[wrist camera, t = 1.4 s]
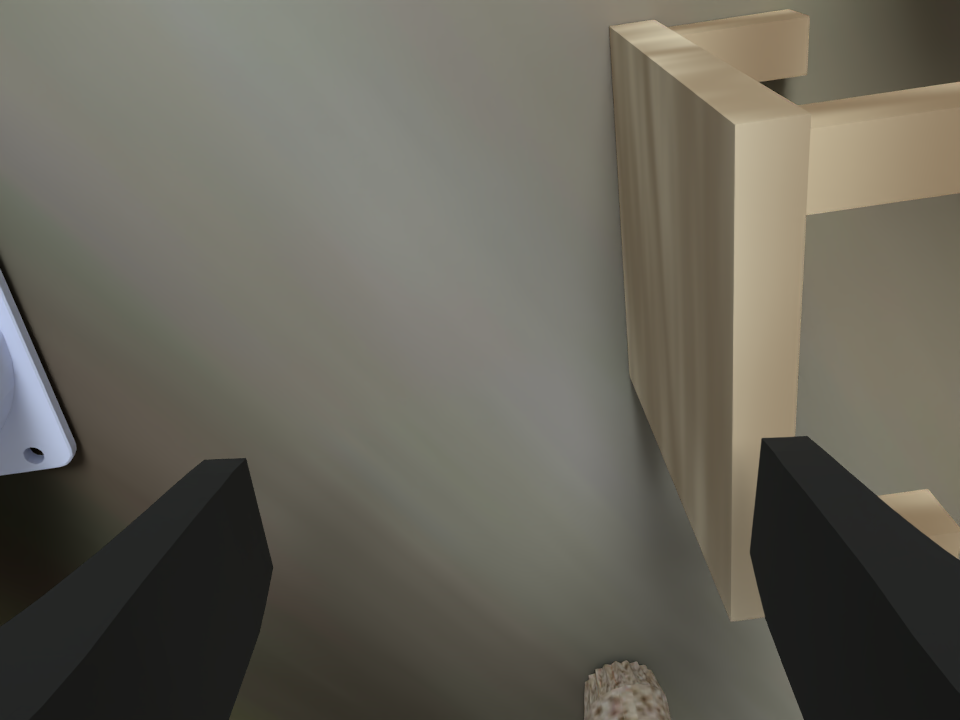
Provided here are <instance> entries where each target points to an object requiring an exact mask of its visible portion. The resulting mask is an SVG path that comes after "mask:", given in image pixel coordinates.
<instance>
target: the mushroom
mask: <svg viewBox="0 0 960 720" xmlns="http://www.w3.org/2000/svg"><path fill="white" fill-rule="evenodd" d="M584 720H671V717H670V711H669V705H668V703H667V698H666V695H665V694H664V692H663V690H662V688H661V687H660V685H659V683H658V681H657V680H656V678H655V676H654V674H653V673H652V671H651V670H648V669H647V667H646V665H639V664H638V663H637V661H636V662H633V663H629V662H628V661H627V660H625V661H624V662H622V663H619V662H617V661H615V662H614V663H612V664H611V665H608V664H604V666H603V668H601V669H595V674H591V675H589V680H588V681H586V682H585V689H584Z"/></svg>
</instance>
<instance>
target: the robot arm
mask: <svg viewBox="0 0 960 720" xmlns="http://www.w3.org/2000/svg"><path fill="white" fill-rule="evenodd" d="M30 447H32V448H37V449H39V450H41V451H42V453H43V454H44V455H37V454H35V453H33V452H32V450H31V449H30ZM76 450H77V448H76V443H75V440H74V438H73V436H72V433H71V431H70V429H69V427H68V424H67V422H66V420H65V417H64V415H63V413H62V410H61V408H60V406H59V403H58V401H57V399H56V396H55V394H54V392H53V390H52V387H51V385H50V383H49V380H48V378H47V376H46V373H45V371H44V369H43V366H42V364H41V362H40V359H39V357H38V355H37V353H36V350H35V348H34V346H33V343H32V341H31V339H30V336H29V334H28V332H27V329H26V327H25V325H24V322H23V320H22V318H21V315H20V313H19V311H18V309H17V306H16V304H15V302H14V299H13V297H12V295H11V292H10V290H9V288H8V285H7V283H6V281H5V278H4V276H3V274H2V272H1V269H0V476H1V475H8V474H16V473H23V472H30V471H37V470H44V469H51V468H58V467H62V466H65V465H67V464H68V463H69V462H70V461H71V460H72V458H73V457H74V455H75V453H76ZM750 557H751V561H752V565H753V570H754V574H755V578H756V583H757V587H758V591H759V595H760V599H761V603H762V607H763V611H764V615H765V619H766V621H767V624H768V627H769V629H770V632H771V635H772V637H773V640H774V643H775V645H776V648H777V651H778V653H779V656H780V659H781V661H782V664H783V667H784V669H785V672H786V674H787V677H788V680H789V682H790V685H791V687H792V690H793V692H794V695H795V698H796V700H797V703H798V705H799V708H800V710H801V713H802V716H803V718H804V720H960V560H959V559H957V558H956V557H954V556H953V555H952V554H950V553H949V552H947V551H946V550H945V549H943V548H942V547H941V546H939V545H938V544H937V543H935V542H934V541H933V540H931V539H930V538H929V537H928V536H926V535H925V534H924V533H922V532H921V531H920V530H918V529H917V528H916V527H915V526H913V525H912V524H911V523H910V522H908V521H907V520H906V519H905V518H903V517H902V516H901V515H900V514H898V513H897V512H896V511H895V510H894V509H892V508H891V507H890V506H889V505H887V504H886V503H885V502H884V501H883V500H881V499H880V498H879V497H878V496H877V495H875V494H874V493H873V492H872V491H871V490H870V489H868V488H867V487H866V486H865V485H864V484H863V483H861V482H860V481H859V480H858V479H857V478H856V477H854V476H853V475H852V474H851V473H850V472H849V471H847V470H846V469H845V468H844V467H843V466H842V465H840V464H839V463H838V462H837V461H836V460H835V459H834V458H832V457H831V456H830V455H829V454H828V453H827V452H825V451H824V450H823V449H822V448H821V447H820V446H818V445H817V444H816V443H815V442H814V441H812V440H811V439H810V438H809V437H808V436H800V437H774V438H762V439H761V448H760V458H759V467H758V477H757V487H756V496H755V506H754V515H753V525H752V534H751V544H750ZM272 570H273V565H272V561H271V557H270V553H269V549H268V545H267V541H266V537H265V533H264V529H263V525H262V521H261V517H260V513H259V509H258V504H257V500H256V496H255V492H254V488H253V484H252V480H251V476H250V472H249V468H248V464H247V460H246V458H239V459H213V460H204V461H202V462H201V463H200V464H199V465H197V466H196V467H195V468H194V469H192V470H191V471H190V472H189V473H188V474H186V475H185V476H184V477H183V478H182V479H181V480H180V481H178V482H177V483H176V484H175V485H174V486H173V487H172V488H170V489H169V490H168V491H167V492H166V493H165V494H164V495H163V496H161V497H160V498H159V499H158V500H157V501H156V502H155V503H154V504H152V505H151V506H150V507H149V508H148V509H147V510H146V511H145V512H143V513H142V514H141V515H140V516H139V517H138V518H137V519H135V520H134V521H133V522H132V523H131V524H130V525H129V526H127V527H126V528H125V529H124V530H123V531H122V532H120V533H119V534H118V535H117V536H116V537H115V538H114V539H112V540H111V541H110V542H109V543H108V544H107V545H106V546H104V547H103V548H102V549H101V550H100V551H98V552H97V553H96V554H95V555H93V556H92V557H91V558H90V559H88V560H87V561H86V562H85V563H83V564H82V565H81V566H80V567H78V568H77V569H76V570H75V571H73V572H72V573H71V574H70V575H68V576H67V577H66V578H65V579H63V580H62V581H61V582H60V583H58V584H57V585H56V586H55V587H53V588H52V589H51V590H50V591H48V592H47V593H46V594H45V595H43V596H42V597H41V598H39V599H38V600H37V601H35V602H34V603H33V604H31V605H30V606H29V607H27V608H26V609H25V610H23V611H22V612H20V613H19V614H18V615H16V616H15V617H13V618H12V619H11V620H9V621H8V622H6V623H5V624H4V625H2V626H1V627H0V720H229V717H230V714H231V712H232V709H233V706H234V703H235V701H236V698H237V695H238V692H239V689H240V687H241V684H242V681H243V678H244V675H245V673H246V670H247V667H248V664H249V661H250V658H251V655H252V653H253V650H254V647H255V644H256V641H257V638H258V635H259V632H260V628H261V623H262V619H263V614H264V610H265V606H266V601H267V596H268V591H269V586H270V580H271V575H272Z"/></svg>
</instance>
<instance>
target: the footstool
mask: <svg viewBox="0 0 960 720" xmlns="http://www.w3.org/2000/svg"><path fill="white" fill-rule="evenodd" d="M809 23H810V16H808V15H805V14H802V13H799V12H796V11H793V10H790V9H786V10H779V11H773V12H766V13H759V14H752V15H746V16H739V17H732V18H726V19H719V20H712V21H705V22H699V23H692V24H685V25H679V26H672V27H666V26H664V25H662V24H661V23H659V22H657V21H656V20H648V21H641V22H635V23H628V24H621V25H614V26H609V31H610V49H611V66H612V83H613V100H614V118H615V135H616V152H617V169H618V187H619V204H620V221H621V239H622V256H623V273H624V290H625V308H626V325H627V342H628V359H629V376H630V378H631V381H632V383H633V385H634V388H635V390H636V393H637V395H638V398H639V400H640V402H641V405H642V407H643V410H644V412H645V415H646V417H647V419H648V422H649V424H650V427H651V429H652V432H653V434H654V436H655V439H656V441H657V444H658V446H659V449H660V451H661V453H662V456H663V458H664V461H665V463H666V466H667V468H668V470H669V473H670V475H671V478H672V480H673V483H674V485H675V487H676V490H677V492H678V495H679V497H680V500H681V502H682V504H683V507H684V509H685V512H686V514H687V517H688V519H689V521H690V524H691V526H692V529H693V531H694V534H695V536H696V538H697V541H698V543H699V546H700V548H701V551H702V553H703V555H704V558H705V560H706V563H707V565H708V568H709V570H710V572H711V575H712V577H713V580H714V582H715V585H716V587H717V589H718V592H719V594H720V597H721V599H722V602H723V604H724V606H725V609H726V611H727V614H728V616H729V619H730V621H731V622H734V621H741V620H748V619H756V618H763V617H765V615H764V611H763V607H762V603H761V599H760V595H759V591H758V587H757V583H756V578H755V574H754V570H753V565H752V561H751V557H750V544H751V534H752V525H753V515H754V506H755V496H756V487H757V477H758V467H759V458H760V448H761V439H762V438H774V437H795V427H796V407H797V387H798V368H799V348H800V328H801V308H802V288H803V268H804V249H805V229H806V215H811V214H818V213H824V212H831V211H838V210H845V209H852V208H859V207H866V206H873V205H880V204H887V203H894V202H900V201H907V200H914V199H921V198H928V197H935V196H942V195H949V194H956V193H960V82H954V83H947V84H941V85H934V86H927V87H920V88H913V89H907V90H900V91H893V92H886V93H879V94H873V95H866V96H859V97H852V98H845V99H839V100H832V101H825V102H818V103H811V104H804V105H796V104H794V103H793V102H791V101H789V100H788V99H786V98H784V97H783V96H781V95H779V94H778V93H776V92H774V91H773V90H771V89H769V88H768V87H766V86H764V85H763V84H761V83H759V82H763V81H769V80H776V79H783V78H790V77H796V76H803V75H807V65H808V44H809ZM878 497H879V498H880V499H881V500H883V501H884V502H885V503H886V504H887V505H889V506H890V507H891V508H892V509H894V510H895V511H896V512H897V513H898V514H900V515H901V516H902V517H903V518H905V519H906V520H907V521H908V522H910V523H911V524H912V525H913V526H915V527H916V528H917V529H918V530H920V531H921V532H922V533H924V534H925V535H926V536H928V537H929V538H930V539H931V540H933V541H934V542H935V543H937V544H938V545H939V546H941V547H942V548H943V549H945V550H946V551H947V552H949V553H950V554H952V555H953V556H954V557H956V558H957V559H958V556H959V550H960V527H959V526H958V525H957V524H956V523H955V521H954V520H953V519H952V518H951V516H950V515H949V514H948V513H947V512H946V510H945V509H944V508H943V507H942V506H941V504H940V503H939V502H938V501H937V500H936V498H935V497H934V496H933V495H932V494H931V492H930V491H929V490H928V489H924V490H916V491H909V492H902V493H895V494H888V495H881V496H878Z"/></svg>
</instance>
